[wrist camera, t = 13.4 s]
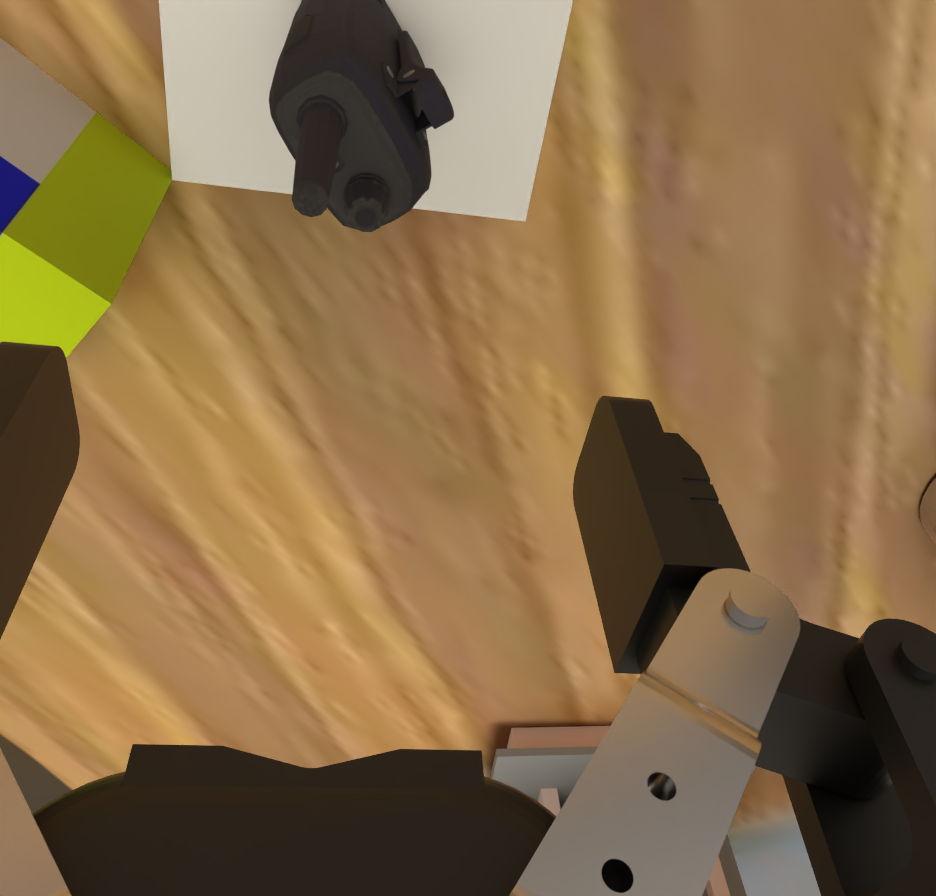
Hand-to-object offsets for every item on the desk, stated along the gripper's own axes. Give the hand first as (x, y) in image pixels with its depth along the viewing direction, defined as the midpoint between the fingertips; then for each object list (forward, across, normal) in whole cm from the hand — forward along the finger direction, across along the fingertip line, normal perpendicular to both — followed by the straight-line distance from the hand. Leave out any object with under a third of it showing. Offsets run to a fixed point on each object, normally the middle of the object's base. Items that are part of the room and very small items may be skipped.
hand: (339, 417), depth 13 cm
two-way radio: (+22, 0, 0) cm, 22 cm away
